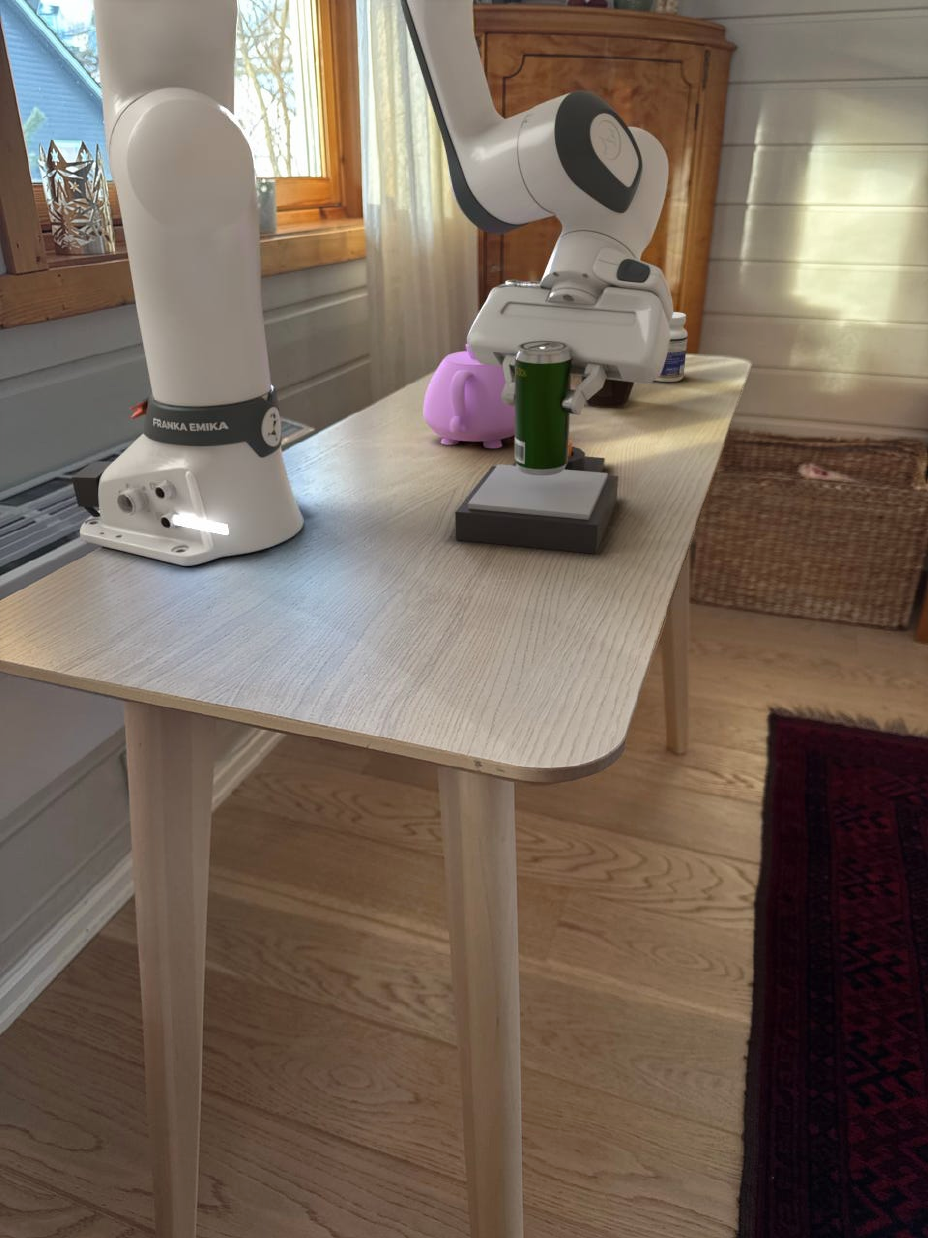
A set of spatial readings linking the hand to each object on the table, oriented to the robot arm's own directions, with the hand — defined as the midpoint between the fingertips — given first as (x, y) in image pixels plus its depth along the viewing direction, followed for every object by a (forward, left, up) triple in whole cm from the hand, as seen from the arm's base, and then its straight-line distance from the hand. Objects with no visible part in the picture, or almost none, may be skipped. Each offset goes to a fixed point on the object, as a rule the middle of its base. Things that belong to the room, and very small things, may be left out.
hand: (539, 406), depth 87 cm
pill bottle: (+7, +64, -12) cm, 65 cm away
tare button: (-1, +14, -9) cm, 17 cm away
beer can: (0, +1, -7) cm, 7 cm away
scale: (0, +1, -12) cm, 12 cm away
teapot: (-14, +28, -12) cm, 33 cm away
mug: (0, +46, -12) cm, 47 cm away
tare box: (-1, +14, -12) cm, 18 cm away
